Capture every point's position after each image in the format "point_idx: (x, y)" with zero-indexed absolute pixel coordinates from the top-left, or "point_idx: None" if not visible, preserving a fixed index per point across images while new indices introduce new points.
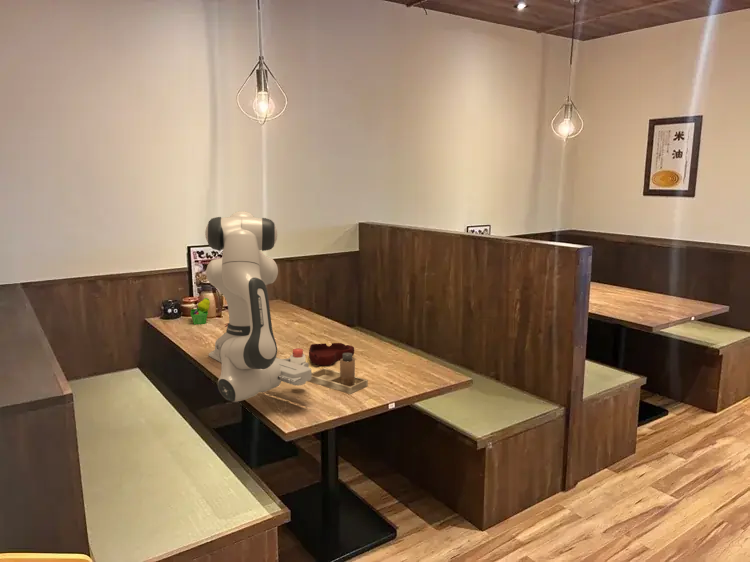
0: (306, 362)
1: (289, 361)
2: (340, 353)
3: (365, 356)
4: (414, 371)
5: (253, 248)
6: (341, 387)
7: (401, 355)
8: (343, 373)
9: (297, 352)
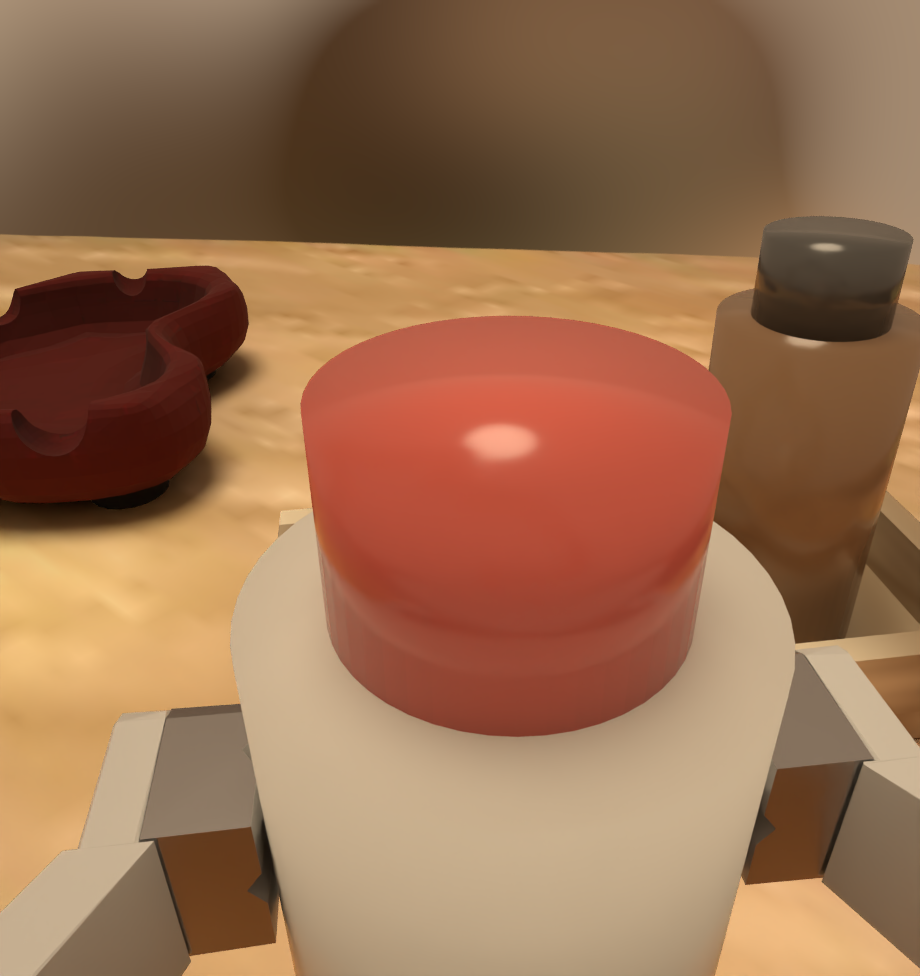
0: (804, 659)
1: (204, 883)
2: (186, 337)
3: (277, 319)
4: (690, 307)
5: None
6: (892, 679)
7: (435, 261)
8: (849, 502)
9: (703, 500)
